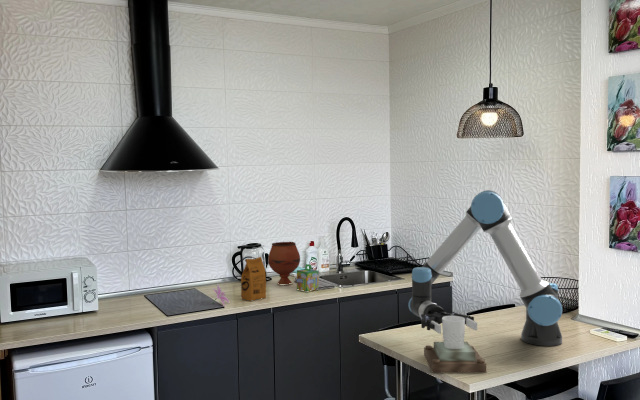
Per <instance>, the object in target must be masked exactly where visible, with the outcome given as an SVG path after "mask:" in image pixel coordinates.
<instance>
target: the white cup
mask: <svg viewBox="0 0 640 400" xmlns="http://www.w3.org/2000/svg"><path fill="white" fill-rule="evenodd" d="M441 324H442V325H441V330H442V339H443V342H444V347H445V348H448V349H462V348H463V347H464V342H465V333H466V331H465V329H466V324H465V318H463V317H460V316H444V317H442V323H441Z"/></svg>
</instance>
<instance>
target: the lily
mask: <svg viewBox="0 0 640 400" xmlns="http://www.w3.org/2000/svg"><path fill="white" fill-rule="evenodd" d="M211 289H212V290H213V291H214V293H215V294H216V297H215V299H214V300H213V302H212V304H214V303H215V302H216V301H217V299H218V300H220V301H221V303H222V305H223V306H225V305H226V304H225V302H227V303H229V302H230V300H229V299H228V297H227V296H225V295H226V292H224V291H222V289H221V287H220V284H219V283H217V284H216V288H214V287H212V288H211ZM229 304H230V303H229Z"/></svg>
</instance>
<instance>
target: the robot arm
mask: <svg viewBox="0 0 640 400" xmlns="http://www.w3.org/2000/svg"><path fill="white" fill-rule="evenodd" d="M512 219H513V218H512V215H511V213H510V211H509V210H508V207H507V206H506V204H505V203H504V200H503V198H502V196H501V195H500V194H499V193H498V192H496V191H494V190H483V191H480V192H479V193H478V194H476V195H475V196H474V197H473V199H472V201H471V204H470V206H469V208H468V209H467V210H466V211H465V217H463V219H462V220H461V221H460V222H459V223H458V225H457V226H455V228H454V229H453V230H452V232H450V234H449V235H448V236H447V237H446V239H444V241H443V242H442V243H441V244H440V246H439V247H437V249H436V250H435V251H434V252H433V254H432V255H431V256H430V257H429V258H428V259H427V260H426V262H425V263H424V264H423V265H422V266H420V267H419V266H417V267H414V268H413V269H412V270H411V298H410V299H409V300H408V309H409V311H410V312H411V314H413V315H414V316H415V317H419V318H420V323H421V328H422V329H425V328H426V330H427V331H431V330H433V331H434V332H436V333H438V334H441V333H442V325H441V324H442V317H444V316H460V317H463V318H465V327H466V326H467V327H468V328H469V329H472V330H474V331H478V322H477V321H475V317H474V316H471V315H468V314H467V315H466V314H462V313H457V312H455V311H452V312H451V313H450V312H446V310H444V308H443V307H441V306H440V305H438V304H437V303H435V302H432V285H433V284H434V282H436V280H437V279H438V278H439V276H440V275H441V274H442V273H443V272H444V270H445V269H447V267H448V266H449V265H450V264H451V262H453V260H454V259H455V258H456V257H457V256H458V255H459V254H460V252H461V251H462V250H463V249H464V248H465V247H466V245H468V243H469V242H470V241H471V239H473V237H475V236H476V234H477V233H478V232H479V231H480V230H481V229H482V231H483V232H484V233H487V234H488V235H489V236H490V238H491V239H492V241H493V242H494V244H495V246H496V248H497V250H498V251H499V253H500V255H501V257H502V259H503V261H504V262H505V264H506V266H507V268H508V269H509V272H510V273H511V274H512V276H513V278H514V280H515V282H516V284H517V285H518V287H519V289H520V291H519V292H520V293H519V295H518V296H519V297H520V300H521V301H522V303H523V305H524V307H525V322H524V325H523V328H522V331H521V333H520V334H521V335H520V337H521V338H520V339H521V341H522V342H524V343H527V344H530V345H534V346H540V347H541V346H542V347H544V346H545V347H549V346H550V347H553V346H560V345H561V344H563V336H562V332H561V328H560V326H559V320H561V318H562V315H563V305H562V303H561V301H560V299H559V289H558V288H559V286H558V285H557V283H550V282H549V281H546V280H543V279H542V276H541V275H540V273H539V272H538V269H537V268H536V266H535V264H534V263H533V261H532V259H531V258H530V256H529V254H528V251H527V250H526V249H525V246H524V245H523V243H522V241H521V239H520V238H519V236H518V235H517V233H516V230H515V229H514V227H513V225H512V223H511V221H512Z"/></svg>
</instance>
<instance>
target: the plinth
mask: <svg viewBox="0 0 640 400" xmlns="http://www.w3.org/2000/svg"><path fill="white" fill-rule="evenodd" d="M423 356H424V358H425V360H427V361H426V362H428V363H427V364H428V367H429V368H430V371H431V373H433V374H435V373H441V374H442V373H444V374H445V373H448V374H449V373H452V374H453V373H455V374H456V373H457V374H458V373H460V374H461V373H462V374H463V373H472V374H473V373H474V374H475V373H482V374H483V373H487V362H486V361H485V359H484V358H483V357H482V355H480V353H479V352H478V351H477V349H475V346H474V345H471V344H470V343H469V342H468V341H464V347H463V348H462V349H448V348H445V347H444V341H433V346H432V345H425V346H424V347H423Z"/></svg>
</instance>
